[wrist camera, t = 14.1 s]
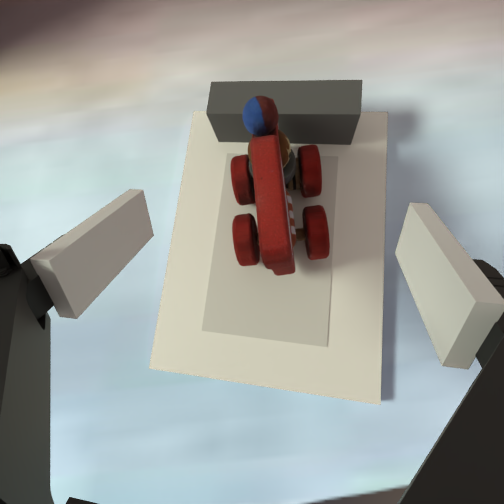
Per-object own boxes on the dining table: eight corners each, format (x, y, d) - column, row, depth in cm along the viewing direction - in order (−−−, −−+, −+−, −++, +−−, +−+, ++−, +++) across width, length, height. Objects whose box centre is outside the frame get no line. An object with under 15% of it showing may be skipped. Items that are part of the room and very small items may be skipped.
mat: (196, 117, 30) (193, 110, 29) (384, 119, 27) (388, 111, 26) (154, 366, 25) (148, 368, 24) (376, 401, 22) (380, 405, 21)
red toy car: (312, 142, 26) (324, 33, 16) (329, 281, 23) (354, 254, 13) (236, 152, 27) (201, 55, 17) (243, 287, 24) (206, 266, 14)
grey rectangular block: (222, 113, 28) (211, 81, 24) (352, 114, 26) (362, 79, 22) (218, 142, 28) (206, 113, 24) (350, 144, 26) (360, 114, 22)
